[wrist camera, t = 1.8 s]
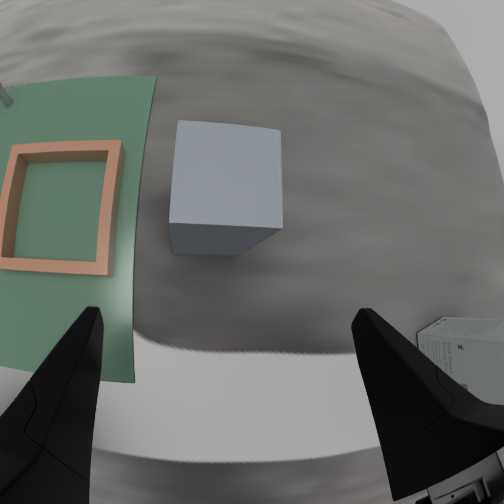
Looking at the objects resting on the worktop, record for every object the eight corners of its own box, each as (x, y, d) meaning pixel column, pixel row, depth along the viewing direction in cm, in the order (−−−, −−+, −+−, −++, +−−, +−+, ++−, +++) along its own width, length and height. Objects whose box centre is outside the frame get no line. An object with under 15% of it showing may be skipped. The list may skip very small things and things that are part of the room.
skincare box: (414, 333, 26) (524, 343, 14) (444, 314, 27) (546, 314, 15) (423, 389, 25) (522, 416, 13) (452, 368, 26) (546, 383, 15)
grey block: (237, 256, 23) (282, 228, 13) (172, 254, 22) (168, 222, 12) (238, 194, 23) (280, 130, 14) (176, 190, 22) (178, 120, 13)
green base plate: (134, 382, 20) (101, 457, 9) (-37, 355, 16) (-125, 378, 5) (158, 69, 23) (160, -34, 12) (5, 82, 20) (-39, 8, 9)
